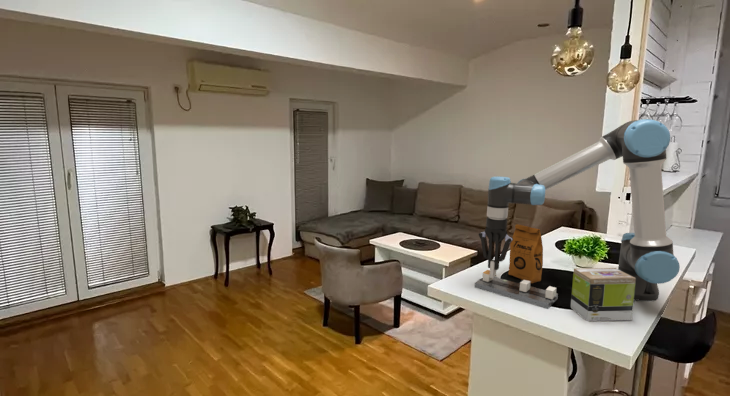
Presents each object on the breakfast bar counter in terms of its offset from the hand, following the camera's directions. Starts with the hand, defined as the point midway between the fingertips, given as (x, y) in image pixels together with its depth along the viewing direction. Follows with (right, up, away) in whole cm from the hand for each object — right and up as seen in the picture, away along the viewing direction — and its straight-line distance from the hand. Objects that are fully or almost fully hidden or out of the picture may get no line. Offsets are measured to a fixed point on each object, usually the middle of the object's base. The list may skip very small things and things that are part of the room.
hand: (492, 276), depth 151 cm
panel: (+7, -5, -5) cm, 10 cm away
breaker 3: (+16, -4, -13) cm, 21 cm away
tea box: (+29, -8, -21) cm, 37 cm away
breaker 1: (-1, -2, +2) cm, 3 cm away
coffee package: (+17, -3, +10) cm, 20 cm away
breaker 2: (+9, -3, -8) cm, 12 cm away
